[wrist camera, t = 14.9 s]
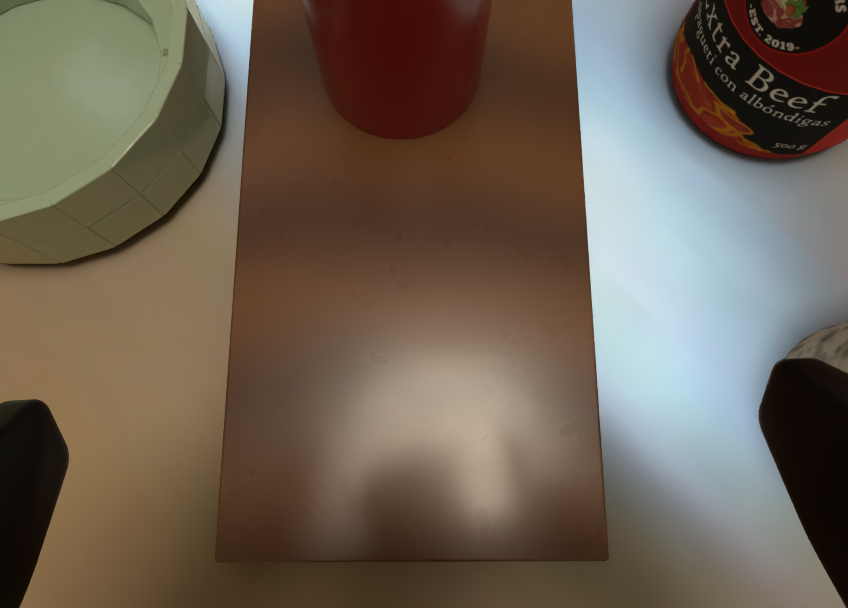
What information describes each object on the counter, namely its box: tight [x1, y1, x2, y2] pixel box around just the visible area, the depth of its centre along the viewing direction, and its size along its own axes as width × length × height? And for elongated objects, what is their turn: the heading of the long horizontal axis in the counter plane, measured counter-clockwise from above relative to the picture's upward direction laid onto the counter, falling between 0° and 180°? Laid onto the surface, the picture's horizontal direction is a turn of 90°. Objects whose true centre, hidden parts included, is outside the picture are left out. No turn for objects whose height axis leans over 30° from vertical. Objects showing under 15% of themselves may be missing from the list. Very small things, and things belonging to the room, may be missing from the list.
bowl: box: [0, 0, 225, 264], centre depth 21 cm, size 13×13×4 cm
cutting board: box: [215, 0, 609, 562], centre depth 22 cm, size 21×12×2 cm, turn 0°
